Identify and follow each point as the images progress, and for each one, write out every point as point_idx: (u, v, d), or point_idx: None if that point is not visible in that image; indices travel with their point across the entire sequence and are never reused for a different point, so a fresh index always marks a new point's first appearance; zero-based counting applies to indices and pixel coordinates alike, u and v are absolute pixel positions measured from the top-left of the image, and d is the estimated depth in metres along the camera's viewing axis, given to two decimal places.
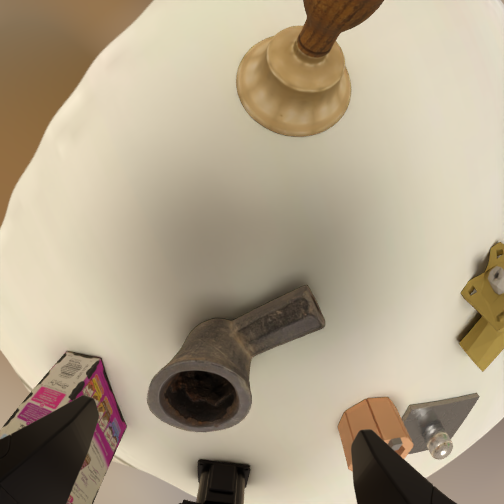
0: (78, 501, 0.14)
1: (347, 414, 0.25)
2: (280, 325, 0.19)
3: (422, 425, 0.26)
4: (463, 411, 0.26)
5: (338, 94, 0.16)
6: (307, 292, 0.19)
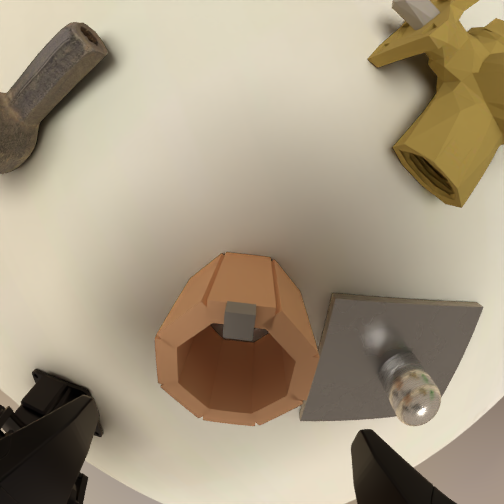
0: None
1: (188, 282, 0.16)
2: None
3: (373, 351, 0.16)
4: (457, 336, 0.16)
5: None
6: None
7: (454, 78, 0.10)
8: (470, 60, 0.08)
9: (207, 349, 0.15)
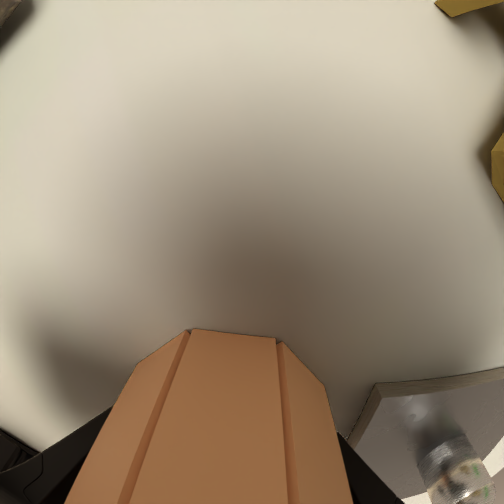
0: None
1: (133, 374, 0.08)
2: None
3: (419, 445, 0.09)
4: None
5: None
6: None
7: None
8: None
9: None
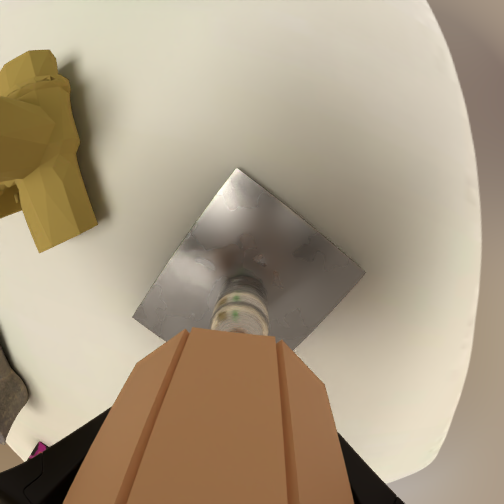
0: None
1: (132, 373, 0.08)
2: None
3: (199, 312, 0.18)
4: (252, 216, 0.17)
5: None
6: None
7: (14, 182, 0.14)
8: None
9: None
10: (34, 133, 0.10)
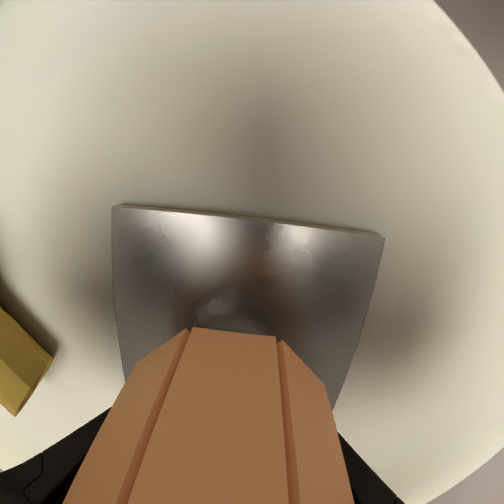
0: None
1: (132, 373, 0.08)
2: None
3: None
4: (169, 256, 0.10)
5: None
6: None
7: None
8: None
9: None
10: None
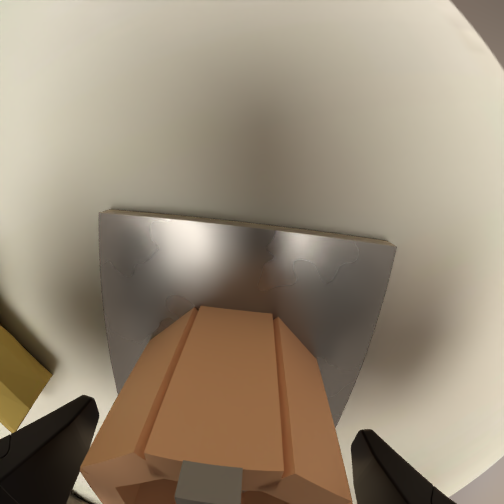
0: None
1: (146, 349, 0.10)
2: None
3: None
4: (161, 266, 0.09)
5: None
6: None
7: None
8: None
9: None
10: None
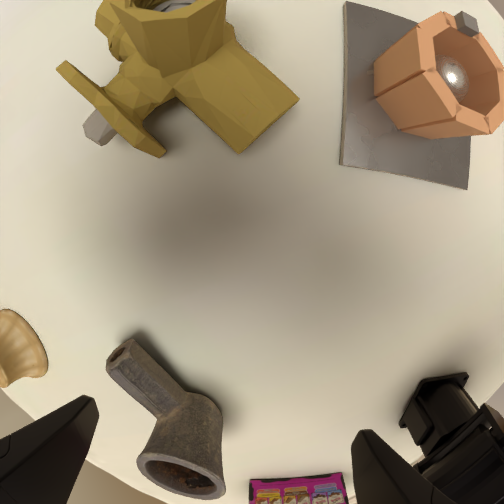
0: None
1: (379, 57, 0.14)
2: (129, 394, 0.18)
3: None
4: (380, 26, 0.13)
5: (7, 332, 0.19)
6: (106, 363, 0.18)
7: (171, 92, 0.13)
8: (149, 79, 0.12)
9: None
10: None
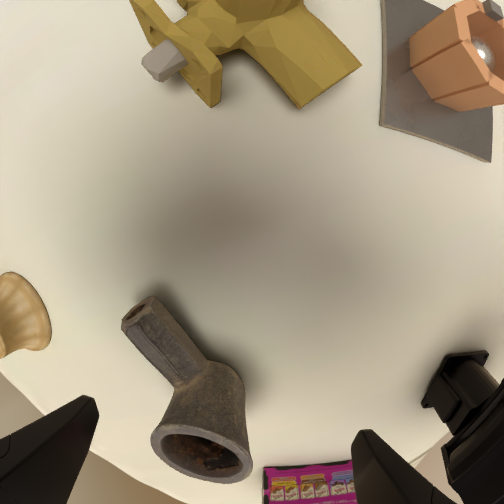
0: None
1: (414, 34, 0.13)
2: (146, 357, 0.17)
3: None
4: (413, 9, 0.13)
5: (9, 296, 0.18)
6: None
7: (240, 40, 0.12)
8: (223, 22, 0.11)
9: None
10: None
